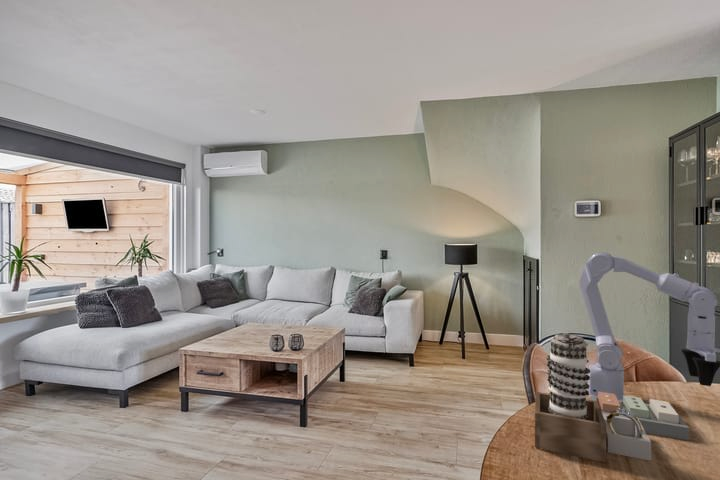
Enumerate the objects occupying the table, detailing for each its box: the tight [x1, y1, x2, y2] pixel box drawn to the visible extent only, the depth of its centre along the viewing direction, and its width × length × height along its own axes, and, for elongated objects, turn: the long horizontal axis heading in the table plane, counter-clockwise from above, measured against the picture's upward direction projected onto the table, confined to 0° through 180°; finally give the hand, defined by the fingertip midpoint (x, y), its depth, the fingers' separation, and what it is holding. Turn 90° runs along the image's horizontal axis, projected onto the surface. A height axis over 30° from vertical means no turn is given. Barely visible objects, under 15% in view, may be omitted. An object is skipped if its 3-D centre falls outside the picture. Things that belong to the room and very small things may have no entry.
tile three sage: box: [623, 394, 649, 419], centre depth 104 cm, size 4×9×3 cm, turn 155°
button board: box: [590, 395, 690, 441], centre depth 104 cm, size 19×13×3 cm, turn 65°
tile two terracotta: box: [598, 392, 621, 413], centre depth 107 cm, size 4×9×3 cm, turn 155°
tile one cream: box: [649, 398, 680, 424], centre depth 102 cm, size 4×9×3 cm, turn 155°
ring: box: [607, 408, 642, 438], centre depth 93 cm, size 7×3×8 cm, turn 31°
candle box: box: [534, 391, 607, 463], centre depth 94 cm, size 14×14×8 cm
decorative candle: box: [546, 332, 590, 420], centre depth 94 cm, size 9×9×25 cm
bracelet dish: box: [603, 414, 652, 462], centre depth 93 cm, size 8×12×4 cm, turn 155°
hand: (699, 380), depth 109 cm, fingers open, 7 cm apart
